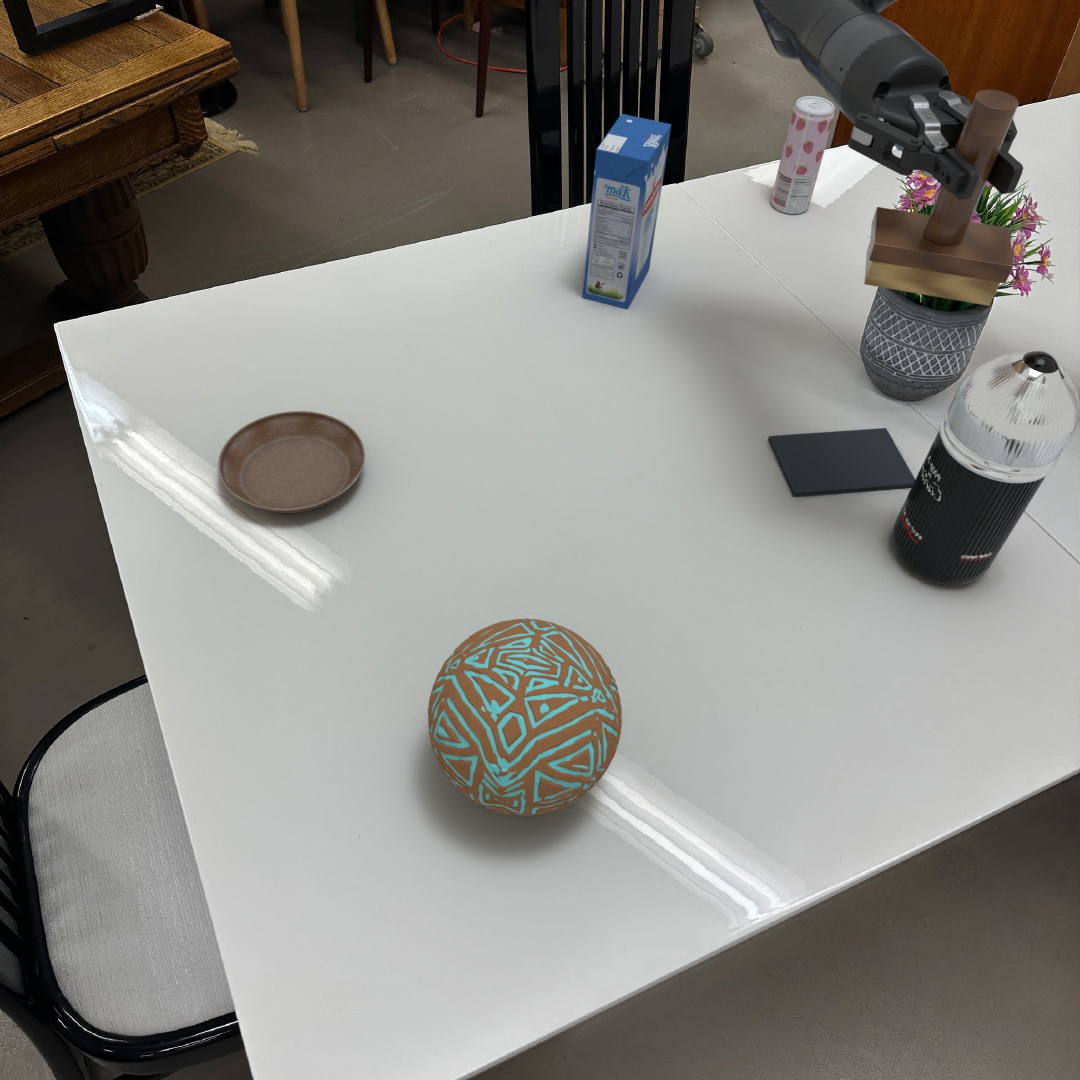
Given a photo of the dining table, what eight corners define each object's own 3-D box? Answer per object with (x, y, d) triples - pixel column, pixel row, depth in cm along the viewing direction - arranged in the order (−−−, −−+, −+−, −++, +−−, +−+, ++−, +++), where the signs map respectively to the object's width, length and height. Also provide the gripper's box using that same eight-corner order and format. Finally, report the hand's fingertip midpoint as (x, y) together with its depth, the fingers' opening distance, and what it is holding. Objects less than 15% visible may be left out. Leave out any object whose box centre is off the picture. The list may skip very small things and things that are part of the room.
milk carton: (627, 309, 124) (648, 160, 109) (582, 298, 125) (596, 149, 110) (649, 269, 130) (671, 123, 115) (605, 259, 131) (621, 113, 116)
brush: (990, 270, 81) (1071, 92, 70) (993, 309, 78) (1078, 129, 66) (863, 248, 83) (921, 71, 71) (860, 286, 79) (920, 106, 68)
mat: (884, 431, 110) (886, 427, 110) (916, 487, 104) (917, 483, 104) (767, 439, 108) (768, 435, 108) (793, 497, 103) (794, 493, 102)
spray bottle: (910, 596, 94) (1017, 399, 76) (870, 519, 101) (959, 321, 82) (1006, 586, 96) (1135, 391, 77) (961, 511, 102) (1069, 315, 84)
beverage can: (809, 198, 145) (837, 98, 133) (807, 217, 141) (836, 116, 130) (771, 192, 145) (795, 92, 134) (768, 211, 142) (793, 110, 130)
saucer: (354, 419, 107) (352, 400, 105) (378, 513, 98) (376, 494, 96) (217, 440, 104) (212, 421, 102) (229, 540, 95) (224, 521, 93)
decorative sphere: (407, 824, 76) (395, 726, 65) (460, 670, 86) (457, 562, 75) (592, 869, 75) (613, 776, 63) (625, 707, 84) (647, 602, 73)
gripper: (815, 40, 77) (925, 146, 66) (969, 25, 80) (1099, 125, 69) (793, 130, 83) (891, 242, 72) (938, 114, 85) (1053, 219, 75)
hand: (992, 184), depth 71 cm, fingers closed on brush, 3 cm apart
